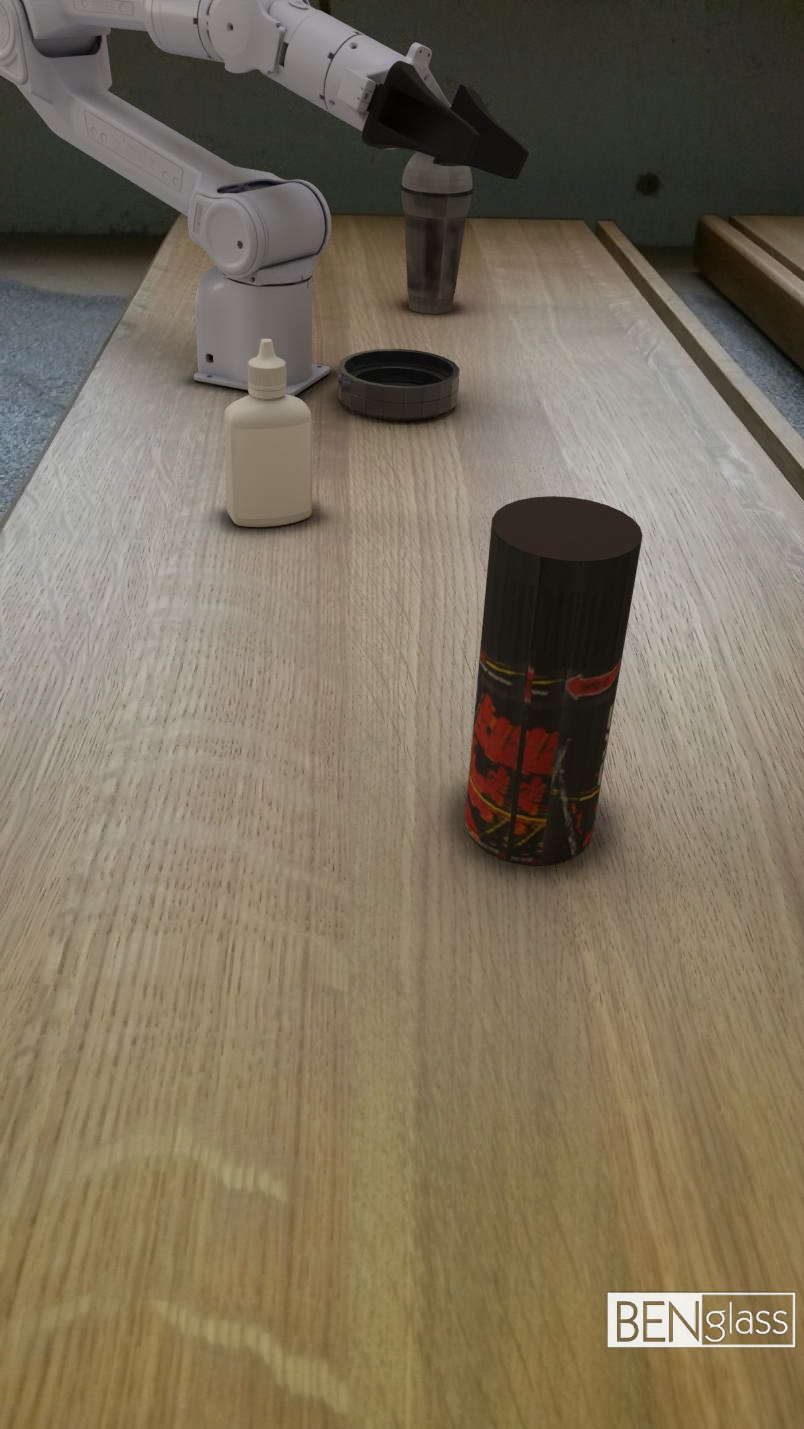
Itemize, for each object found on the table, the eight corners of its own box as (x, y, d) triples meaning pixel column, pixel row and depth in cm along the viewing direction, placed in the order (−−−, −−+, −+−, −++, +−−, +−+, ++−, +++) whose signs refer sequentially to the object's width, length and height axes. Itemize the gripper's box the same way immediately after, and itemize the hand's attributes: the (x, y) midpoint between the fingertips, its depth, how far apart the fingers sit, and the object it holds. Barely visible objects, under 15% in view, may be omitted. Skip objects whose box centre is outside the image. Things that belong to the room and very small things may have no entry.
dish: (318, 410, 100) (318, 374, 98) (367, 375, 108) (368, 342, 106) (431, 432, 97) (433, 395, 95) (473, 394, 105) (476, 360, 103)
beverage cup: (473, 303, 128) (489, 92, 117) (453, 321, 123) (468, 101, 111) (408, 294, 130) (417, 85, 119) (385, 311, 124) (393, 94, 113)
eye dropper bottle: (303, 534, 81) (302, 354, 74) (221, 526, 81) (212, 346, 74) (317, 508, 84) (317, 333, 78) (238, 499, 85) (231, 326, 78)
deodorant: (457, 785, 59) (481, 495, 50) (578, 783, 59) (622, 496, 51) (473, 867, 54) (504, 561, 45) (605, 863, 54) (659, 561, 46)
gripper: (314, -7, 81) (474, 79, 76) (422, 40, 93) (565, 116, 88) (276, 101, 84) (428, 189, 80) (385, 133, 96) (522, 211, 92)
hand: (497, 158), depth 84 cm, fingers open, 7 cm apart
